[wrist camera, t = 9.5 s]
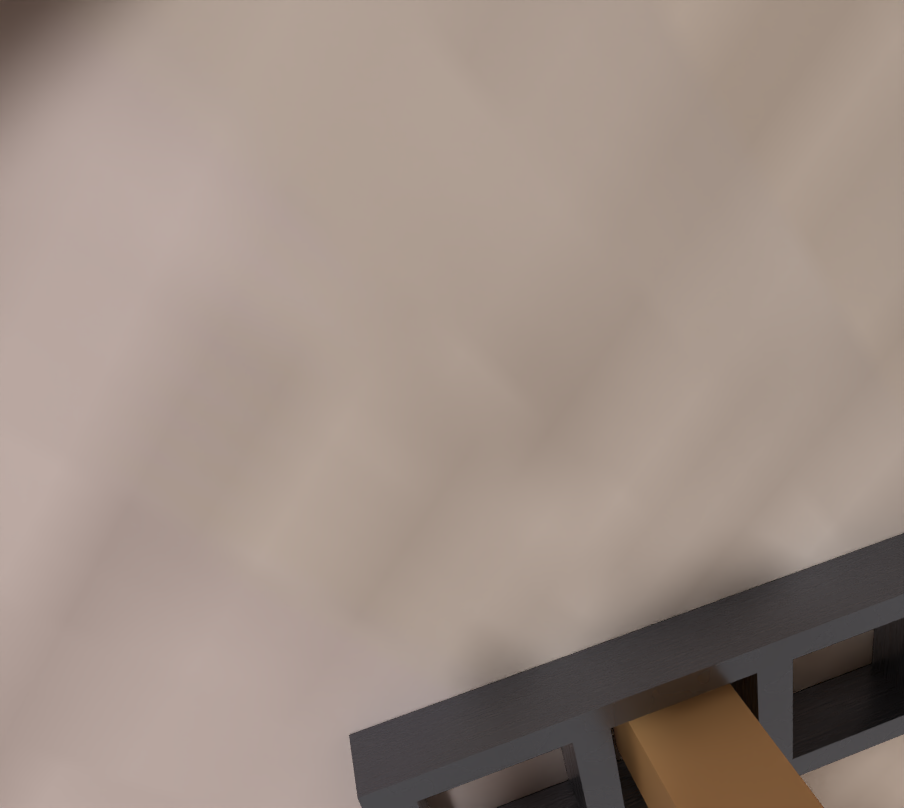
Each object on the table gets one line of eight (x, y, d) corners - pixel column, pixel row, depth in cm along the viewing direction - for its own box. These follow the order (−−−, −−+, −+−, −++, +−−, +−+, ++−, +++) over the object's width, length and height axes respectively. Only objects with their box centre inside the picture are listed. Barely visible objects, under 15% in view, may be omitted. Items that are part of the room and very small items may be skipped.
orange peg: (700, 644, 28) (873, 873, 20) (706, 713, 30) (866, 946, 22) (605, 679, 28) (743, 927, 20) (616, 747, 30) (747, 998, 22)
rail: (919, 527, 28) (975, 567, 26) (904, 669, 32) (952, 714, 30) (349, 735, 26) (357, 798, 24) (405, 863, 29) (416, 928, 27)
